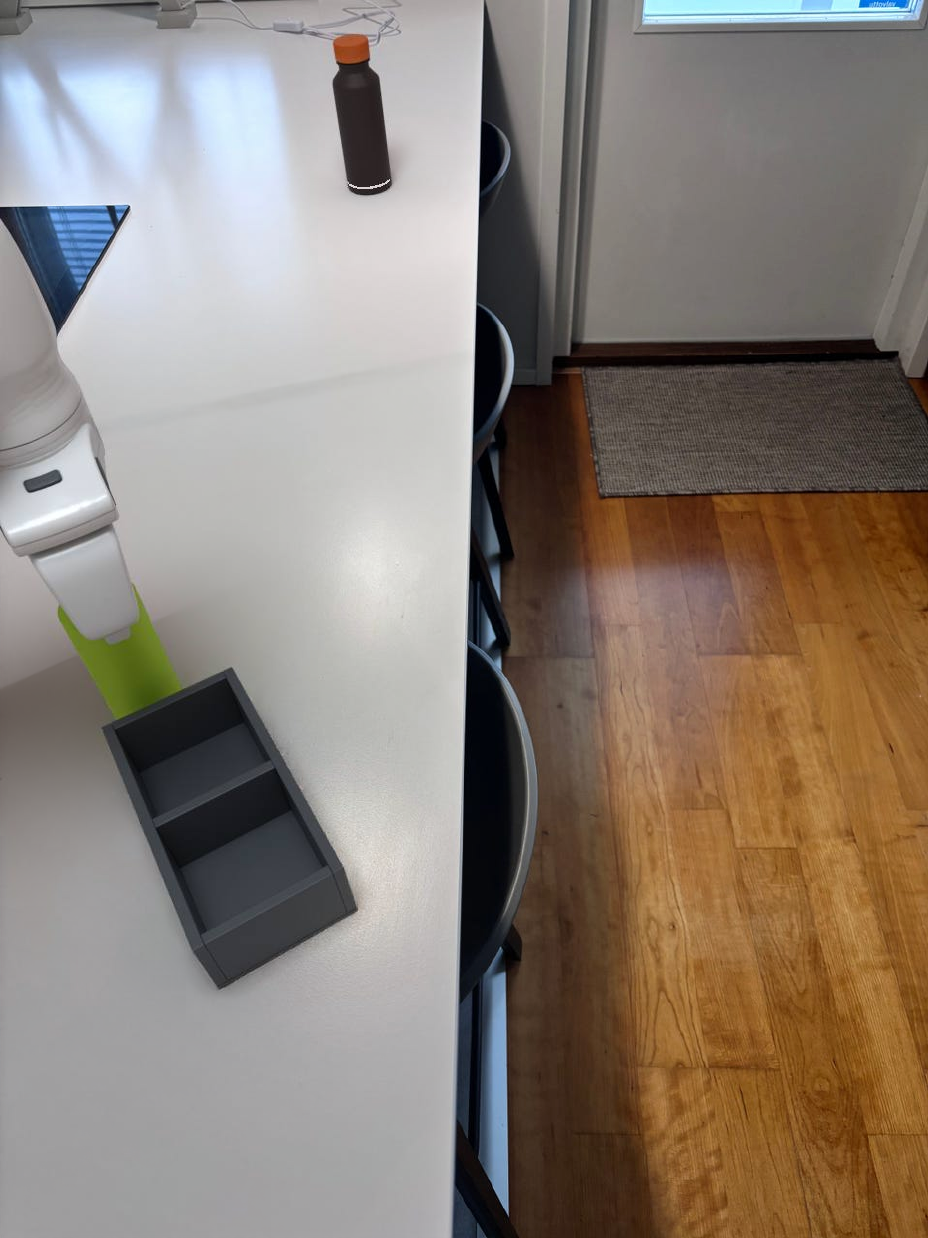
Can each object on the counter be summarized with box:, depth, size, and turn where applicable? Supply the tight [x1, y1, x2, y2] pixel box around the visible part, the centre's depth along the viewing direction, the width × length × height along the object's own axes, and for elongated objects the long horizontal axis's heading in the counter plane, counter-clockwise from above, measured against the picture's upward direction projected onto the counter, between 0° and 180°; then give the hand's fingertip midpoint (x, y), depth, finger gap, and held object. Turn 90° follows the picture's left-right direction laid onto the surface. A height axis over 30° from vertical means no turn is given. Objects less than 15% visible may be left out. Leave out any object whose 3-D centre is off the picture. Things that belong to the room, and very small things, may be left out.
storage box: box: [101, 666, 359, 990], centre depth 70 cm, size 11×20×6 cm, turn 31°
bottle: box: [331, 33, 392, 195], centre depth 138 cm, size 7×7×20 cm
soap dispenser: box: [57, 582, 184, 721], centre depth 73 cm, size 6×7×20 cm
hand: (99, 595), depth 71 cm, fingers open, 8 cm apart
